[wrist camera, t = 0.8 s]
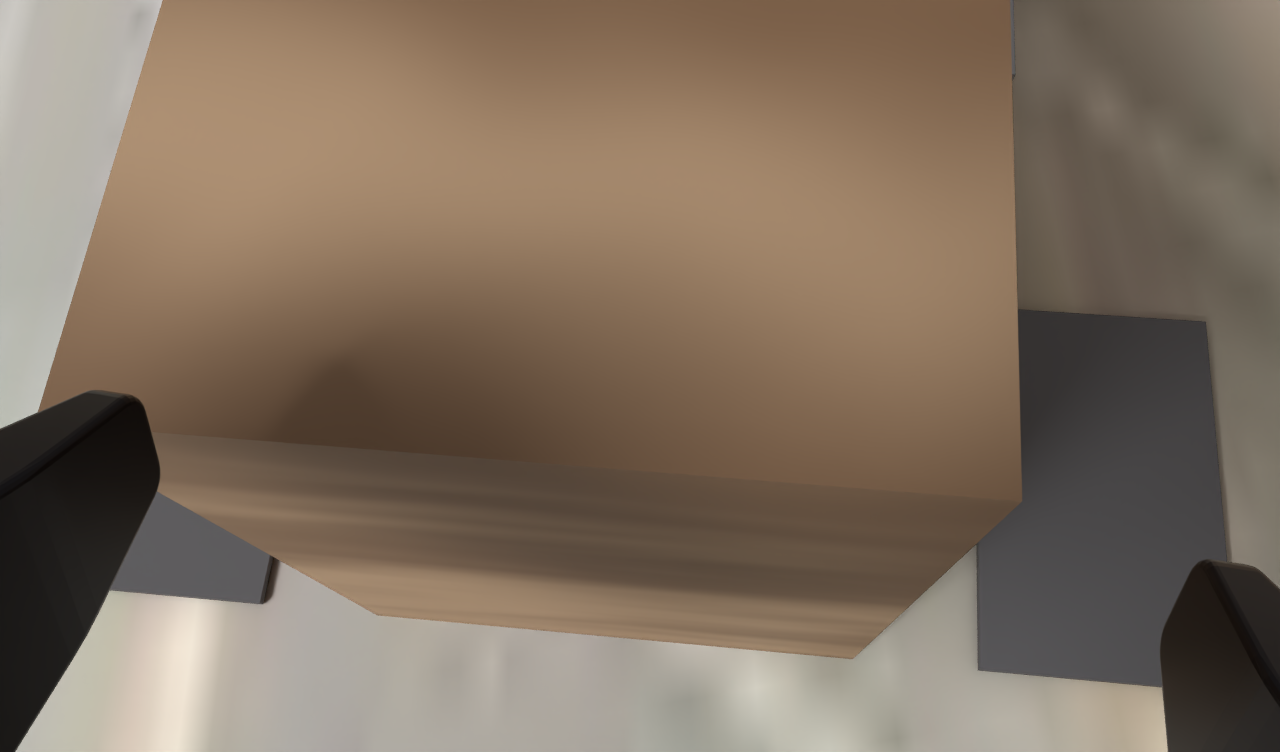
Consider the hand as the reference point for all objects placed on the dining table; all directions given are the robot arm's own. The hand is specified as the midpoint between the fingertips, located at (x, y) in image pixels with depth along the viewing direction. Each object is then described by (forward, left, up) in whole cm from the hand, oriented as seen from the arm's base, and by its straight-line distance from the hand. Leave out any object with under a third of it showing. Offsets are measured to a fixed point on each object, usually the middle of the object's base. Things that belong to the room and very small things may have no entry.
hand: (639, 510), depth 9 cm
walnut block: (+6, +3, -14) cm, 16 cm away
